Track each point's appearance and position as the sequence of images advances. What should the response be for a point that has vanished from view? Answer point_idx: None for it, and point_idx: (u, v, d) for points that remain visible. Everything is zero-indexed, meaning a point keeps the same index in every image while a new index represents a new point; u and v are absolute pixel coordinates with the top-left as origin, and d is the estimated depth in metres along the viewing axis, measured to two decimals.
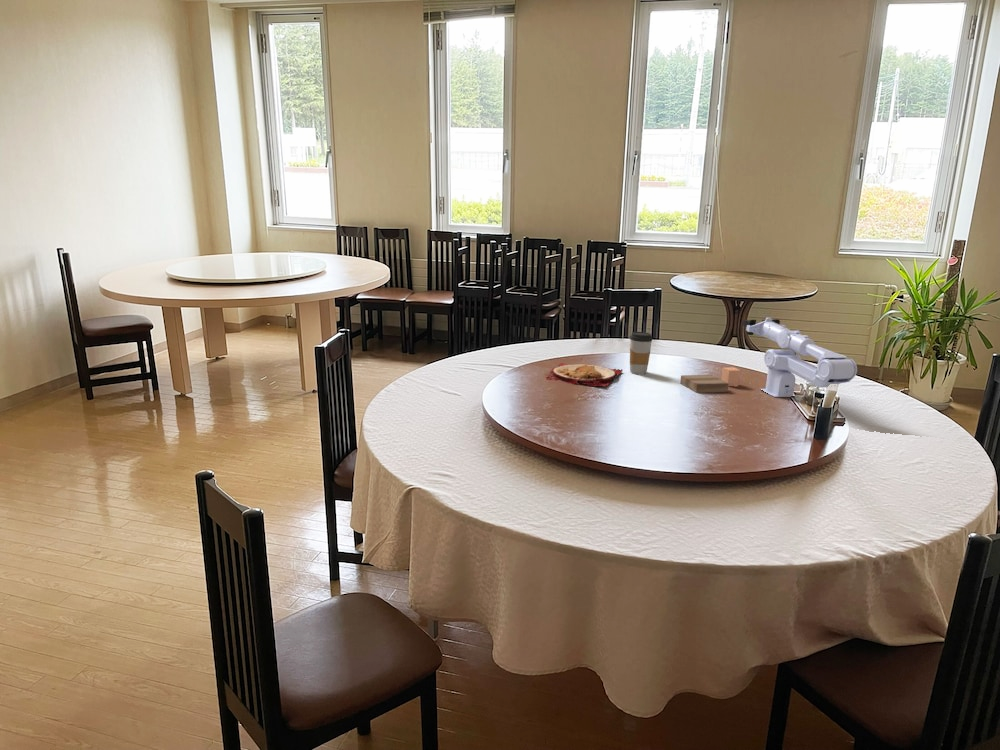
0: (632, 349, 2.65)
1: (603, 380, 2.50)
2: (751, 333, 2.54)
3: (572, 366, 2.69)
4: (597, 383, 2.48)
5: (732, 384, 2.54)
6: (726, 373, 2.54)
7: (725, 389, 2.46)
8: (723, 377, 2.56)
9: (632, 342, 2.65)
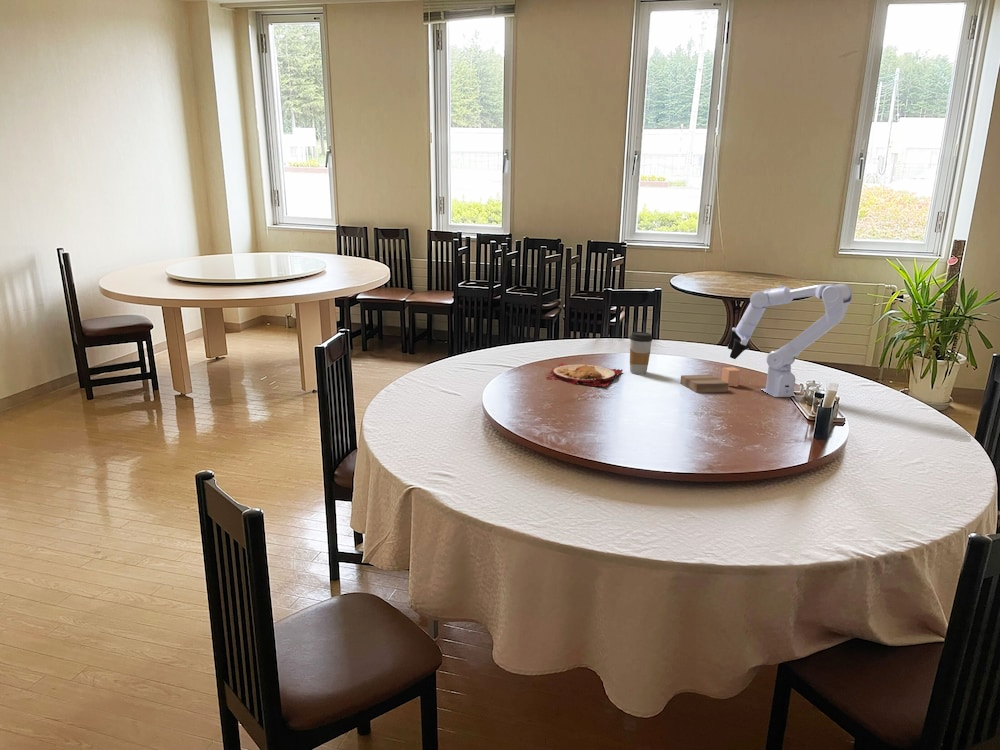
0: (632, 349, 2.65)
1: (603, 380, 2.50)
2: (747, 345, 2.50)
3: (572, 366, 2.69)
4: (597, 383, 2.48)
5: (732, 384, 2.54)
6: (726, 373, 2.54)
7: (725, 389, 2.46)
8: (723, 377, 2.56)
9: (632, 342, 2.65)
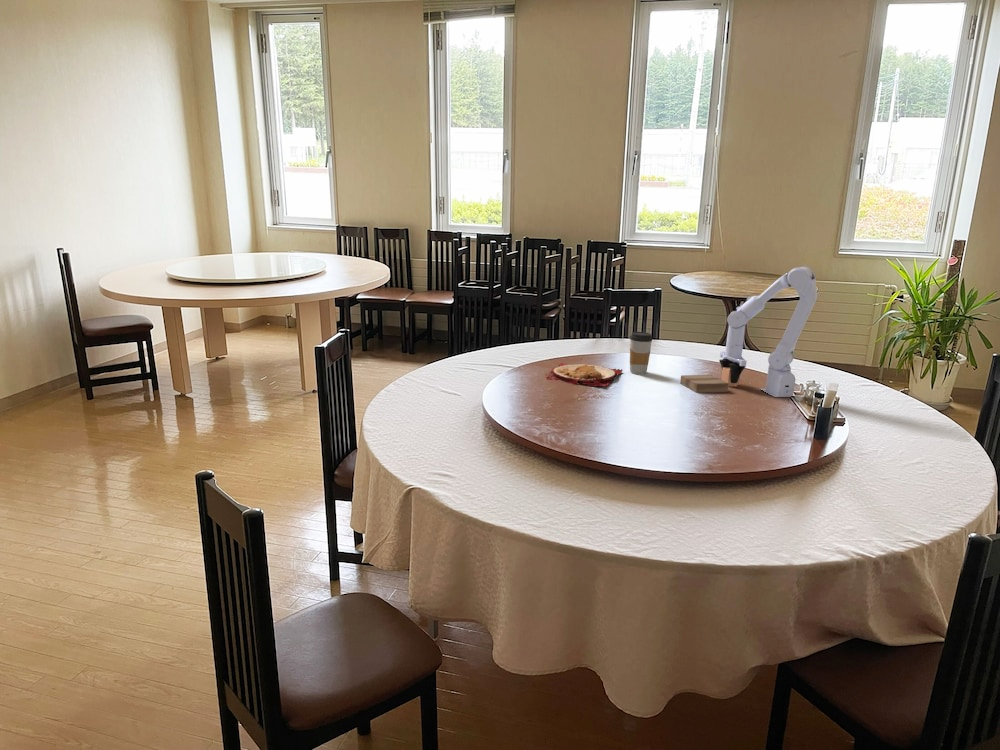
0: (632, 349, 2.65)
1: (603, 380, 2.50)
2: None
3: (572, 366, 2.69)
4: (597, 383, 2.48)
5: (732, 384, 2.54)
6: (726, 373, 2.54)
7: (725, 389, 2.46)
8: (723, 377, 2.56)
9: (632, 342, 2.65)
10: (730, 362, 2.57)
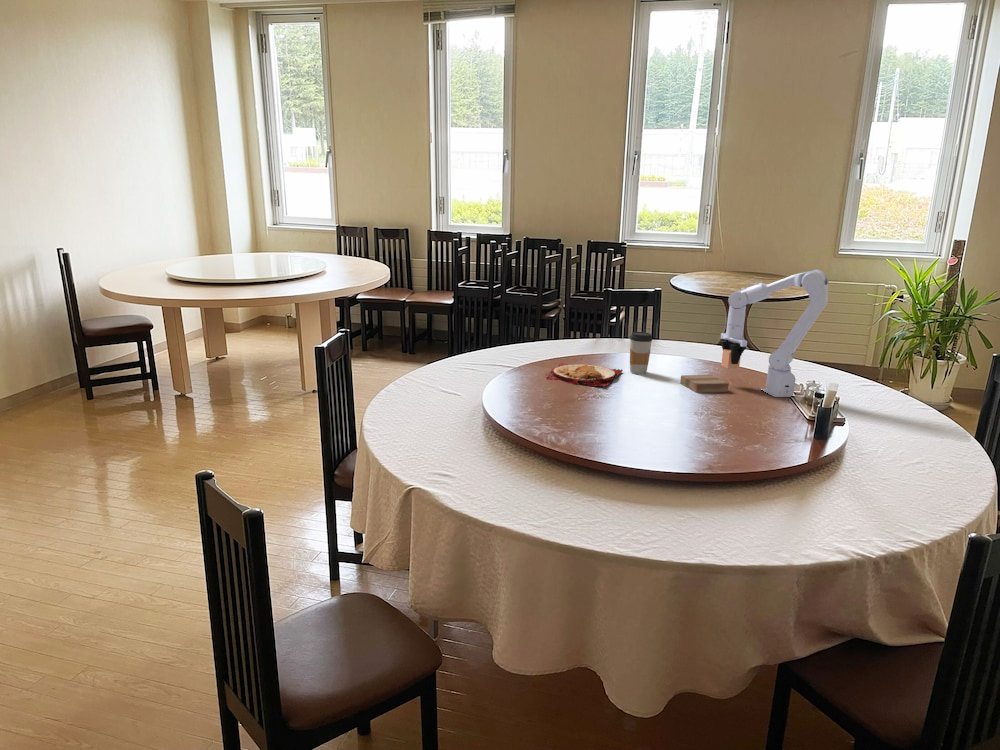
0: (632, 349, 2.65)
1: (603, 380, 2.50)
2: None
3: (572, 366, 2.69)
4: (597, 383, 2.48)
5: (732, 366, 2.52)
6: (726, 355, 2.52)
7: (725, 389, 2.46)
8: (723, 359, 2.54)
9: (632, 342, 2.65)
10: (731, 343, 2.55)
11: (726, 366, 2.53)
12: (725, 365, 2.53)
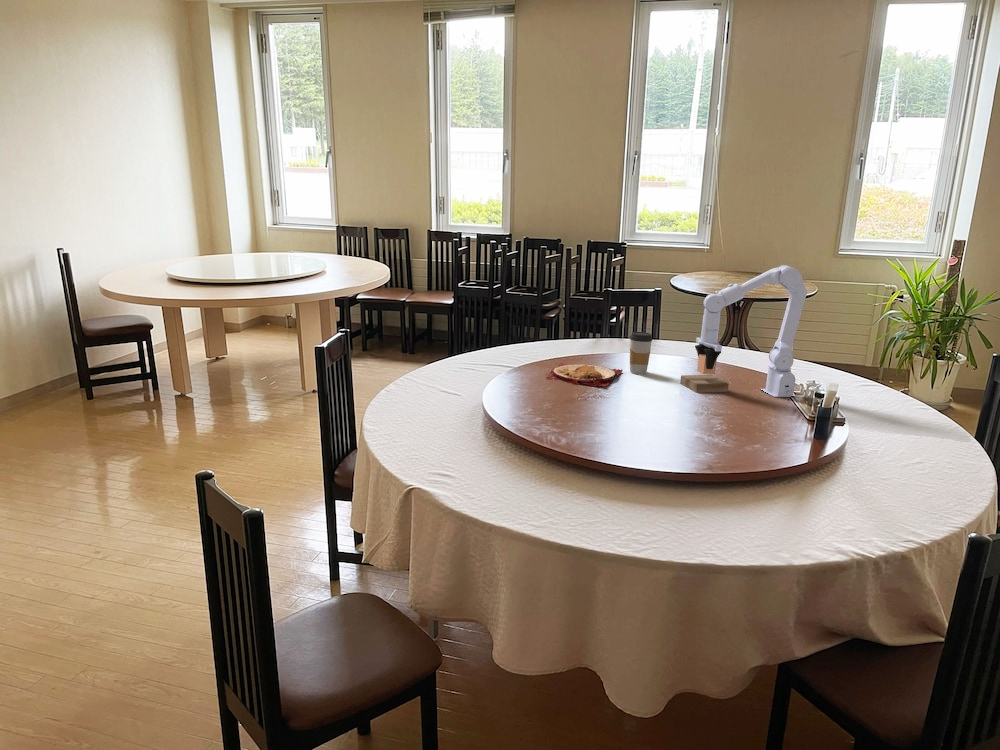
0: (632, 349, 2.65)
1: (603, 380, 2.50)
2: None
3: (572, 366, 2.69)
4: (597, 383, 2.48)
5: (708, 371, 2.47)
6: (702, 360, 2.47)
7: (725, 389, 2.46)
8: (699, 364, 2.49)
9: (632, 342, 2.65)
10: (706, 348, 2.50)
11: (702, 371, 2.48)
12: (701, 370, 2.48)
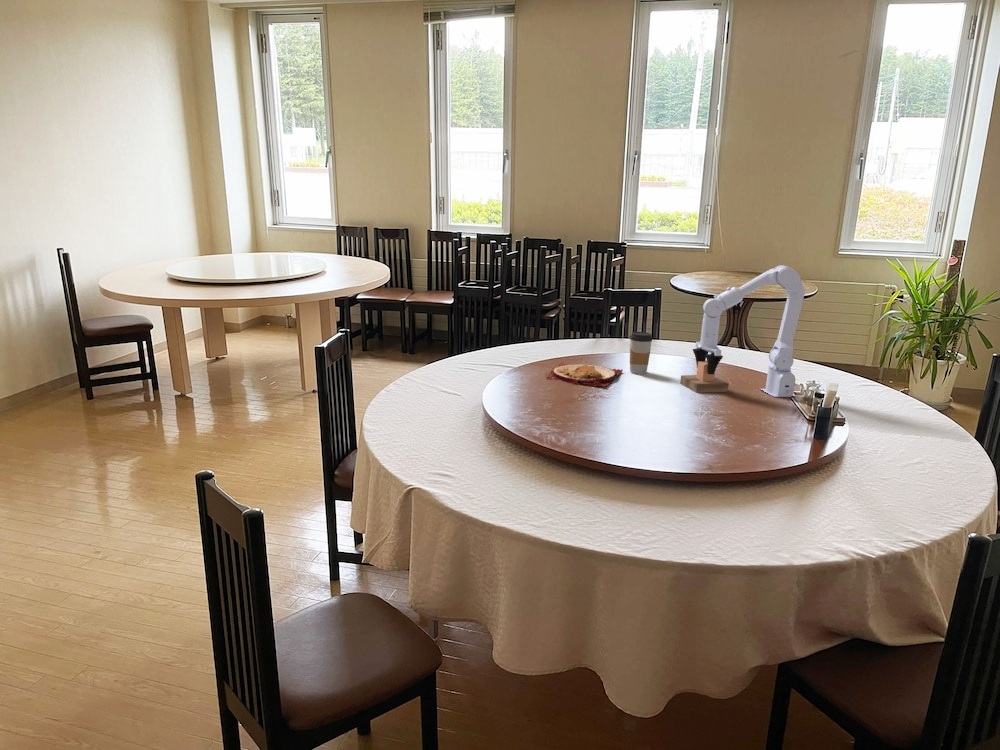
0: (632, 349, 2.65)
1: (603, 380, 2.50)
2: None
3: (572, 366, 2.69)
4: (597, 383, 2.48)
5: (707, 378, 2.48)
6: (701, 367, 2.48)
7: (725, 389, 2.46)
8: (698, 371, 2.50)
9: (632, 342, 2.65)
10: (704, 351, 2.52)
11: (701, 378, 2.48)
12: (700, 377, 2.49)
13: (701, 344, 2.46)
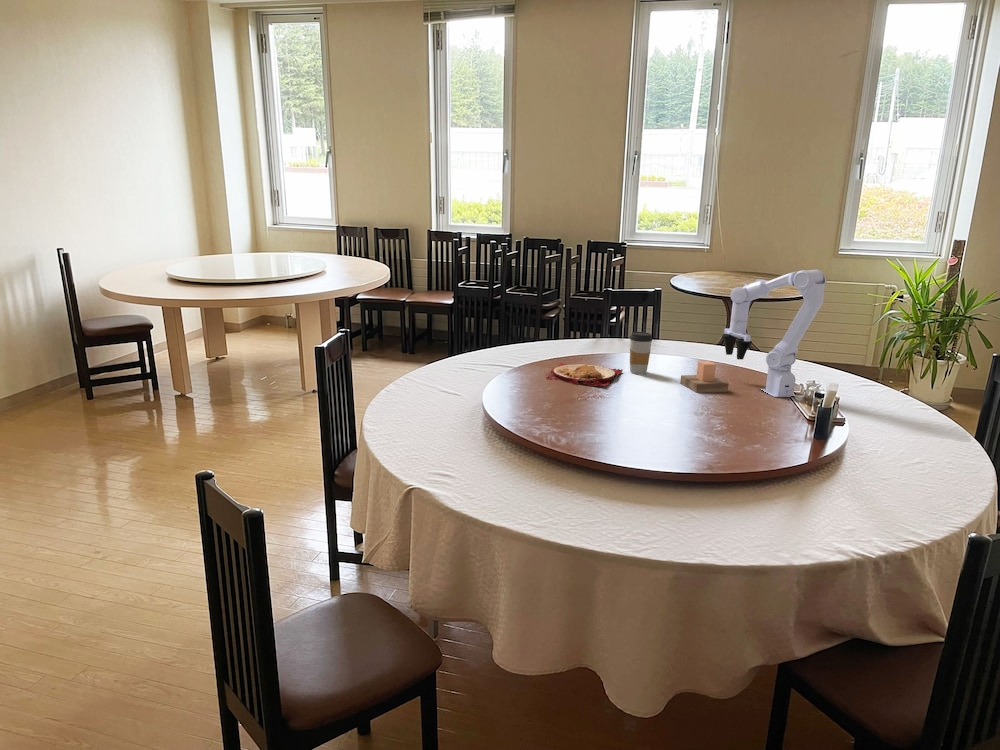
0: (632, 349, 2.65)
1: (603, 380, 2.50)
2: (749, 340, 2.53)
3: (572, 366, 2.69)
4: (597, 383, 2.48)
5: (707, 378, 2.48)
6: (701, 367, 2.48)
7: (725, 389, 2.46)
8: (698, 371, 2.50)
9: (632, 342, 2.65)
10: (732, 337, 2.61)
11: (701, 378, 2.48)
12: (700, 377, 2.49)
13: (731, 330, 2.55)
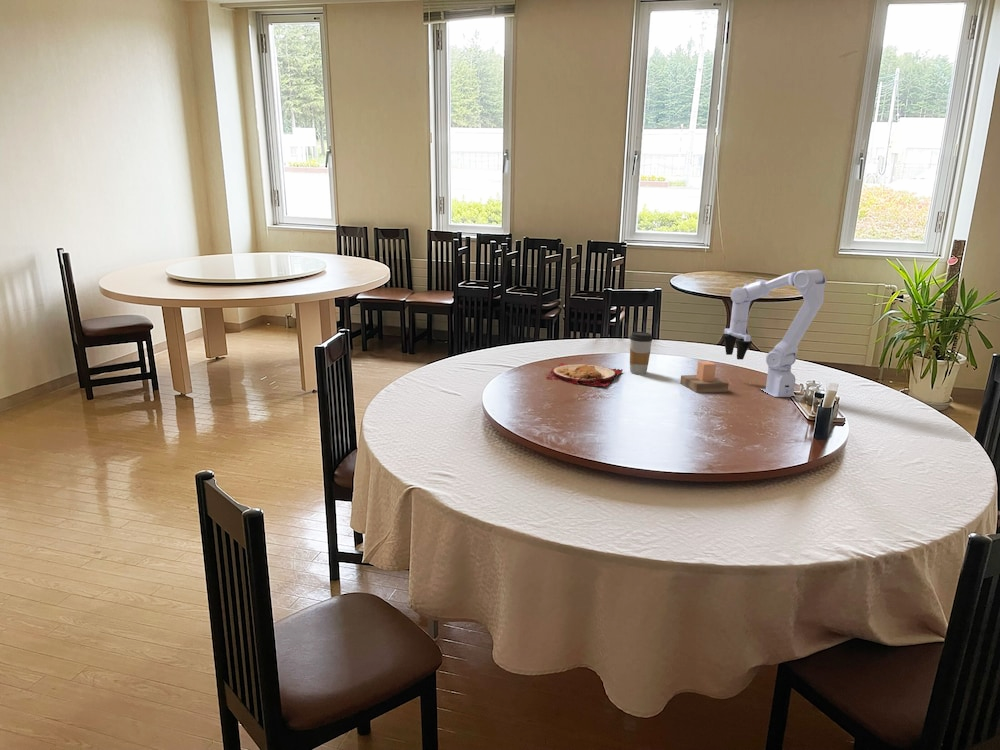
0: (632, 349, 2.65)
1: (603, 380, 2.50)
2: (749, 340, 2.53)
3: (572, 366, 2.69)
4: (597, 383, 2.48)
5: (707, 378, 2.48)
6: (701, 367, 2.48)
7: (725, 389, 2.46)
8: (698, 371, 2.50)
9: (632, 342, 2.65)
10: (732, 337, 2.61)
11: (701, 378, 2.48)
12: (700, 377, 2.49)
13: (731, 330, 2.55)
